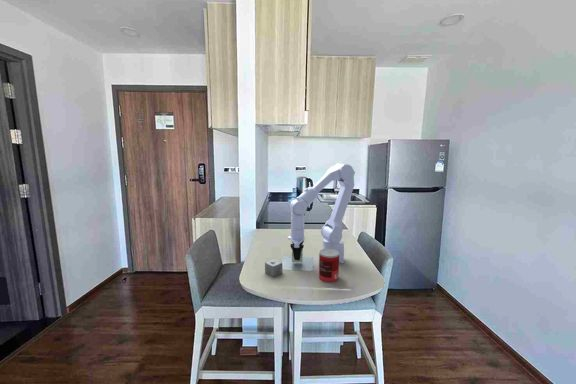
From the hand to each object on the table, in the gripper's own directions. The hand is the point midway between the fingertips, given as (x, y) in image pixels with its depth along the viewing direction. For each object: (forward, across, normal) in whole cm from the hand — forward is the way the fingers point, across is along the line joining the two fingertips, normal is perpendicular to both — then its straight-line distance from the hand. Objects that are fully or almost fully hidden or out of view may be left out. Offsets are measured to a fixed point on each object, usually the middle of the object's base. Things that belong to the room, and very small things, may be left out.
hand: (297, 257), depth 119 cm
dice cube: (+3, +10, -9) cm, 14 cm away
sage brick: (+1, 0, 0) cm, 1 cm away
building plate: (+3, 0, 0) cm, 3 cm away
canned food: (+3, +12, +13) cm, 18 cm away
